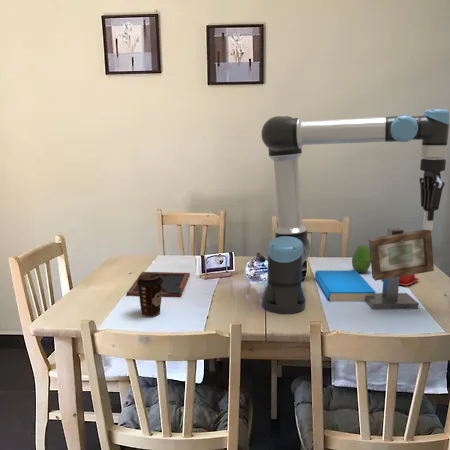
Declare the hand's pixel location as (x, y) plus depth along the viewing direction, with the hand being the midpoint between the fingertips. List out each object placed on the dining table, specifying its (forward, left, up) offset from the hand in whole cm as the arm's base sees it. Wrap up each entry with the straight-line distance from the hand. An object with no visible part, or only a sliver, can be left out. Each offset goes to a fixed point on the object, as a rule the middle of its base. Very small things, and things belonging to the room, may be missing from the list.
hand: (427, 229), depth 158 cm
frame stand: (-9, +5, -28) cm, 30 cm away
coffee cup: (-92, -3, -28) cm, 97 cm away
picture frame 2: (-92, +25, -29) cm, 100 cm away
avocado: (-8, +40, -28) cm, 50 cm away
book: (-22, +19, -29) cm, 41 cm away
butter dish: (+4, +28, -28) cm, 40 cm away
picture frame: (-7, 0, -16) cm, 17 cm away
